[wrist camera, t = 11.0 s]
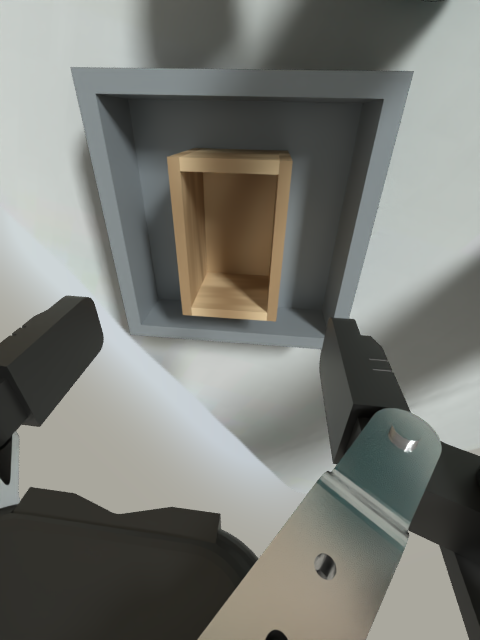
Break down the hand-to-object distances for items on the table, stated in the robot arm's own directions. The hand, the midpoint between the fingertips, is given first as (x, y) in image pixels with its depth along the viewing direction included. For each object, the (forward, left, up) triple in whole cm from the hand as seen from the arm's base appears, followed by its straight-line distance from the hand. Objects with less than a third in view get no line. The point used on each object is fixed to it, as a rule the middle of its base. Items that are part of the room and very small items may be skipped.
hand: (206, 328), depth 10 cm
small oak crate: (0, 0, -14) cm, 14 cm away
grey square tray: (0, 0, -15) cm, 15 cm away
